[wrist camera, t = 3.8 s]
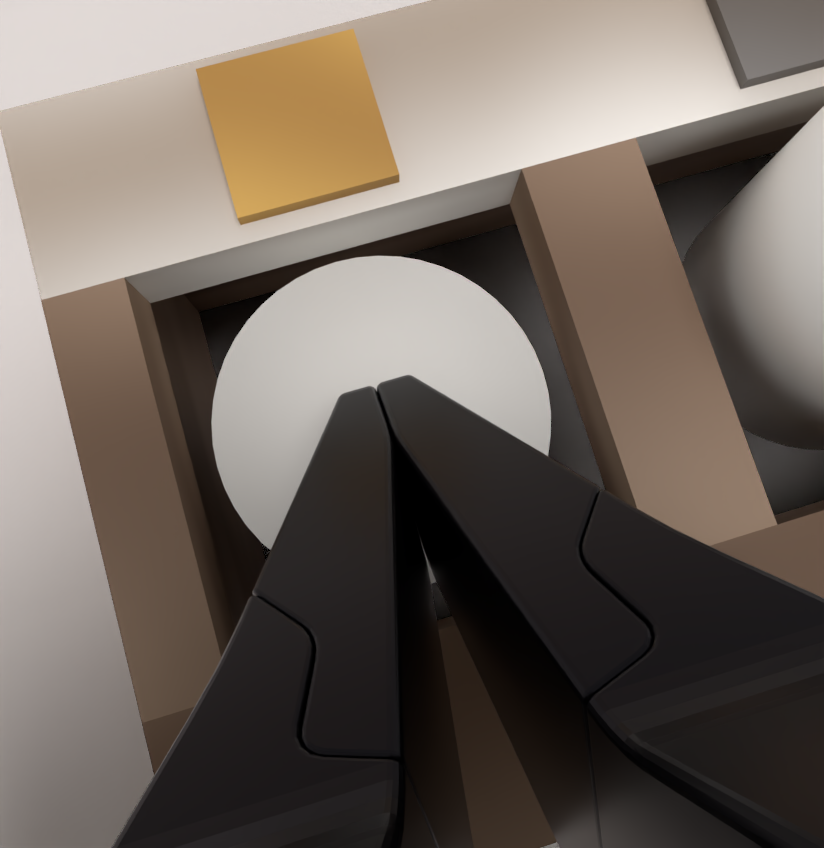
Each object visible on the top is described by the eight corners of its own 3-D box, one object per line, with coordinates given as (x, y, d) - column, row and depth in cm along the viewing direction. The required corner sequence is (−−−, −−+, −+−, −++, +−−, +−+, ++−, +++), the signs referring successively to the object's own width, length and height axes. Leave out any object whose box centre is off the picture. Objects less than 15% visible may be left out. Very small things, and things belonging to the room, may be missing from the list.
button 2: (529, 536, 13) (596, 532, 9) (306, 604, 13) (261, 635, 9) (461, 321, 14) (492, 218, 9) (246, 382, 14) (174, 306, 9)
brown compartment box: (1204, 475, 16) (1832, 423, 9) (289, 768, 15) (194, 972, 8) (1016, 58, 18) (1435, -268, 11) (164, 293, 16) (-13, 103, 9)
